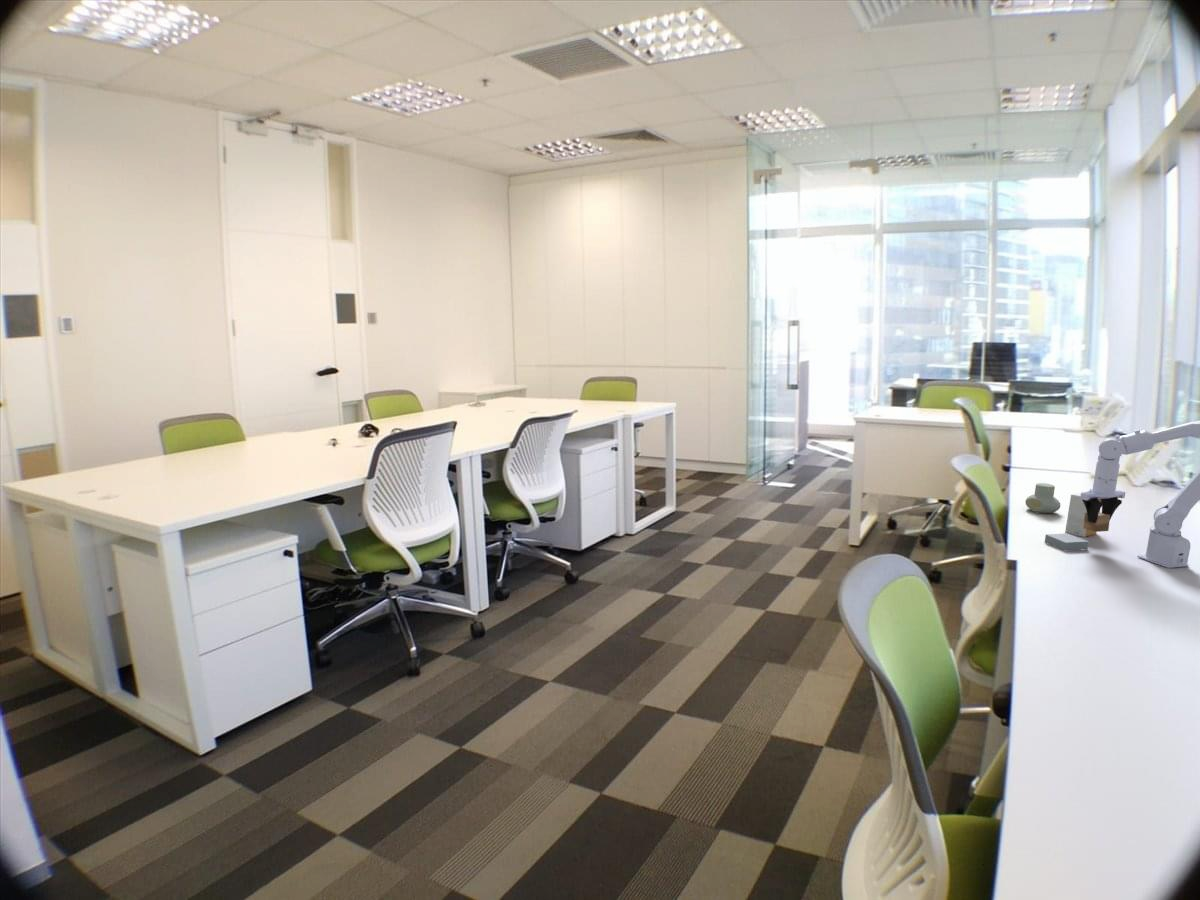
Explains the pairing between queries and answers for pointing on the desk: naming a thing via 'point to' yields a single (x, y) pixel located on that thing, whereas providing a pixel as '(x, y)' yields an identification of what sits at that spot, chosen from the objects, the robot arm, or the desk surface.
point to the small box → (1077, 517)
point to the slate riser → (1066, 541)
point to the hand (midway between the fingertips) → (1098, 521)
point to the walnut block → (1097, 523)
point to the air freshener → (1043, 499)
